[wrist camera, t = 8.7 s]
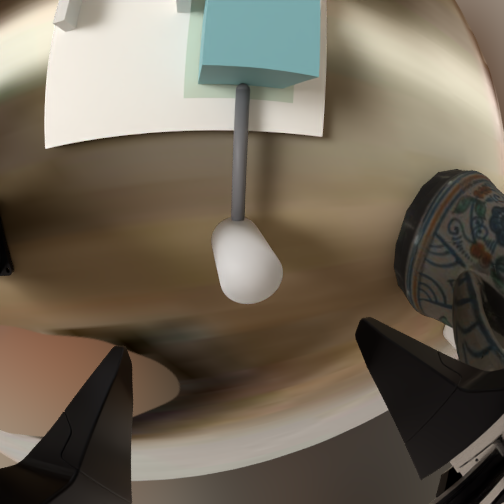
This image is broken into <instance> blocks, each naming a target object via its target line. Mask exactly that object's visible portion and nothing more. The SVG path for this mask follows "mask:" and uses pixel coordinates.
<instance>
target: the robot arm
mask: <svg viewBox="0 0 504 504" xmlns="http://www.w3.org/2000/svg"><path fill="white" fill-rule="evenodd" d="M8 268H9V269H8ZM13 272H14V268H13V265H12V261H11V258H10V255H9V251H8V248H7V244H6V240H5V236H4V232H3V228H2V223H1V219H0V276H7V275H11V274H12V273H13ZM355 337H356V340H357V343H358V345H359V348H360V350H361V353H362V355H363V358H364V360H365V363H366V365H367V368H368V370H369V372H370V374H371V376H372V378H373V380H374V382H375V384H376V386H377V387H378V389H379V391H380V393H381V395H382V397H383V399H384V401H385V403H386V406H387V408H388V410H389V411H390V414H391V416H392V418H393V420H394V422H395V424H396V426H397V428H398V430H399V432H400V435H401V437H402V439H403V441H404V443H405V446H406V448H407V450H408V452H409V455H410V457H411V459H412V461H413V464H414V466H415V468H416V471H417V473H418V475H419V477H420V479H421V480H423V479H424V478H426V477H427V476H429V475H430V474H432V473H433V472H435V471H436V470H438V469H439V468H441V467H442V466H444V465H445V464H447V463H448V462H449V461H450V462H451V464H452V465H453V466H452V467H451V468H449V469H448V470H447V471H446V472H444V473H443V474H442V475H441V479H440V483H439V487H438V491H437V494H436V497H437V498H436V499H435V500H433V501H432V502H431V503H429V504H501V503H503V502H504V369H500V370H495V371H484V370H481V369H478V368H476V367H473V366H471V365H468V364H466V363H463V362H461V361H458V360H456V359H453V358H451V357H449V356H447V355H445V354H443V353H441V352H439V351H437V350H435V349H433V348H431V347H429V346H427V345H425V344H423V343H421V342H419V341H417V340H415V339H413V338H411V337H409V336H407V335H405V334H403V333H401V332H399V331H397V330H395V329H393V328H391V327H389V326H387V325H385V324H383V323H381V322H379V321H377V320H375V319H373V318H372V317H366V318H362V319H361V320H360V322H359V325H358V327H357V330H356V333H355ZM132 412H133V388H132V363H131V360H130V357H129V354H128V351H127V349H126V347H125V346H114V347H113V348H112V349H111V351H110V352H109V353H108V355H107V356H106V357H105V358H104V359H103V361H102V362H101V363H100V365H99V366H98V367H97V368H96V370H95V371H94V372H93V374H92V375H91V376H90V377H89V379H88V380H87V381H86V383H85V384H84V385H83V386H82V388H81V389H80V390H79V392H78V393H77V394H76V396H75V397H74V398H73V400H72V401H71V402H70V404H69V405H68V406H67V408H66V409H65V412H63V413H62V414H61V416H60V417H59V419H58V420H57V421H56V423H55V424H54V425H53V426H52V428H51V429H50V430H49V431H48V432H47V434H46V435H45V436H44V437H43V438H42V439H41V441H40V442H39V443H38V444H37V445H36V446H35V447H34V448H33V449H32V451H31V452H30V453H29V454H28V455H27V456H26V457H25V458H24V459H23V460H22V461H21V462H19V463H17V464H16V465H13V466H9V467H5V468H1V469H0V504H132V495H131V494H132V492H131V434H132Z"/></svg>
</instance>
